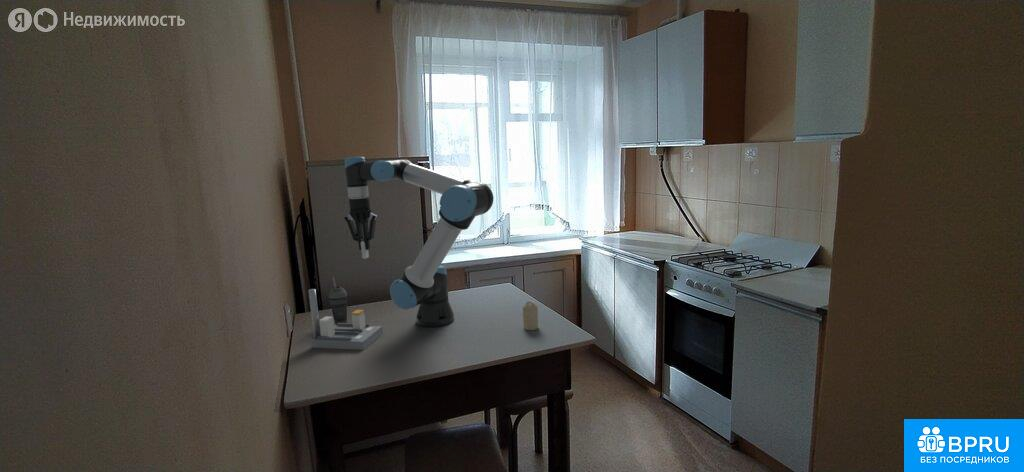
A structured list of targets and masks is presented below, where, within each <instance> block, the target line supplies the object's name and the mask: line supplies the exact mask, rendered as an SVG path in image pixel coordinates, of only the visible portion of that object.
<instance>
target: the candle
mask: <svg viewBox="0 0 1024 472" xmlns="http://www.w3.org/2000/svg"><path fill="white" fill-rule="evenodd" d="M522 316H523V317H522V318H523V319H522V320H523V322H522V323H523V329H524V330H526V331H535V330H538V328H539V313H538V305H537V304H536V303H534V302H530V301H526V302H524V304H523V305H522Z"/></svg>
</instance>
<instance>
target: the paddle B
mask: <svg viewBox="0 0 1024 472" xmlns="http://www.w3.org/2000/svg"><path fill="white" fill-rule="evenodd" d="M319 322H320V331H321V336H330V337H332V336H333V335H335V329H334V325H335V322H334V318H333V316H327V315H326V316H324V317H322V318H319Z"/></svg>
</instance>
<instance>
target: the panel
mask: <svg viewBox="0 0 1024 472" xmlns="http://www.w3.org/2000/svg"><path fill="white" fill-rule="evenodd" d="M365 324H366V327H365V328H364V329H363V330H362V329H353V324H352V322H347V323H337V325H335V324H334V329H335V335H333V336H332V337H330V336H318V337H317V339H314V338H312V339H311V345H312V346H311V347H312V349H336V350H357V351H358V350H363V351H364V350H366V348H368V347H369V346H370V345H371V344H372V343H374V342H375V341H376V340H377V339H378V338H380V337H381V336H382V335H383V334H384V330H383V329H384V328H383V326H382V325H370V323H365ZM379 336H380V337H379Z"/></svg>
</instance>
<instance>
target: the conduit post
mask: <svg viewBox="0 0 1024 472" xmlns="http://www.w3.org/2000/svg"><path fill="white" fill-rule="evenodd" d="M316 291H317V289H316V288H309V289H308V299H309V307H310V308H309V309H310V315H311V322H312V323H311V324H312V334H313V339H317V337H318V336H321V331H320V322H319V320H320V313H319V308H318V299H317V292H316Z"/></svg>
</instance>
